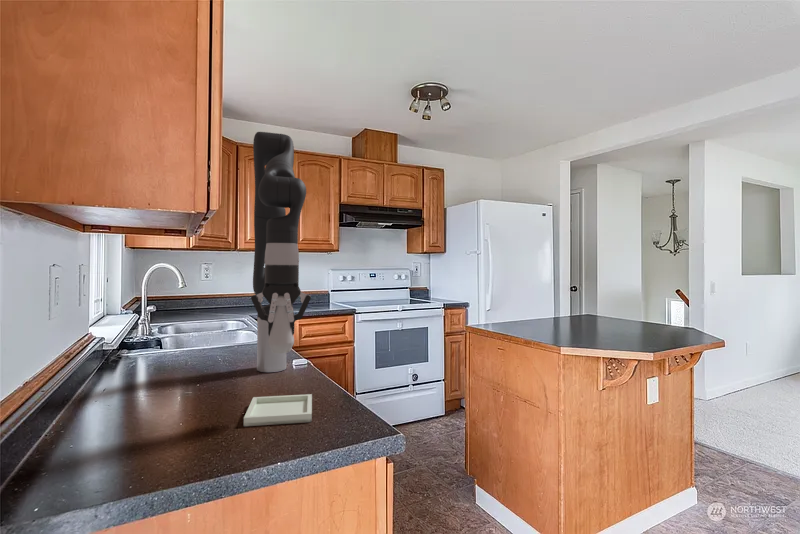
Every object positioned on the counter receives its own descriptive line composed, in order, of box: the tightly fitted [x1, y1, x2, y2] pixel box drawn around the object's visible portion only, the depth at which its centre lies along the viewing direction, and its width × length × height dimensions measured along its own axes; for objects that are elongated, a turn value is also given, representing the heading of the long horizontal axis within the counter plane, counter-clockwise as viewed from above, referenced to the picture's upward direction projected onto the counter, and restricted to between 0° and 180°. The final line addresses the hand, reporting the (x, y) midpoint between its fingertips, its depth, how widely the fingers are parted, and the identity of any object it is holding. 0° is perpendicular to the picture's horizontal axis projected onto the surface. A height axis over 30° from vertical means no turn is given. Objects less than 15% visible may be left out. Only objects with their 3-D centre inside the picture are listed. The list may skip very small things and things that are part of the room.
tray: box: [243, 393, 313, 427], centre depth 95 cm, size 14×14×2 cm
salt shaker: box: [268, 296, 295, 353], centre depth 95 cm, size 6×6×13 cm
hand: (281, 337), depth 95 cm, fingers closed on salt shaker, 3 cm apart
